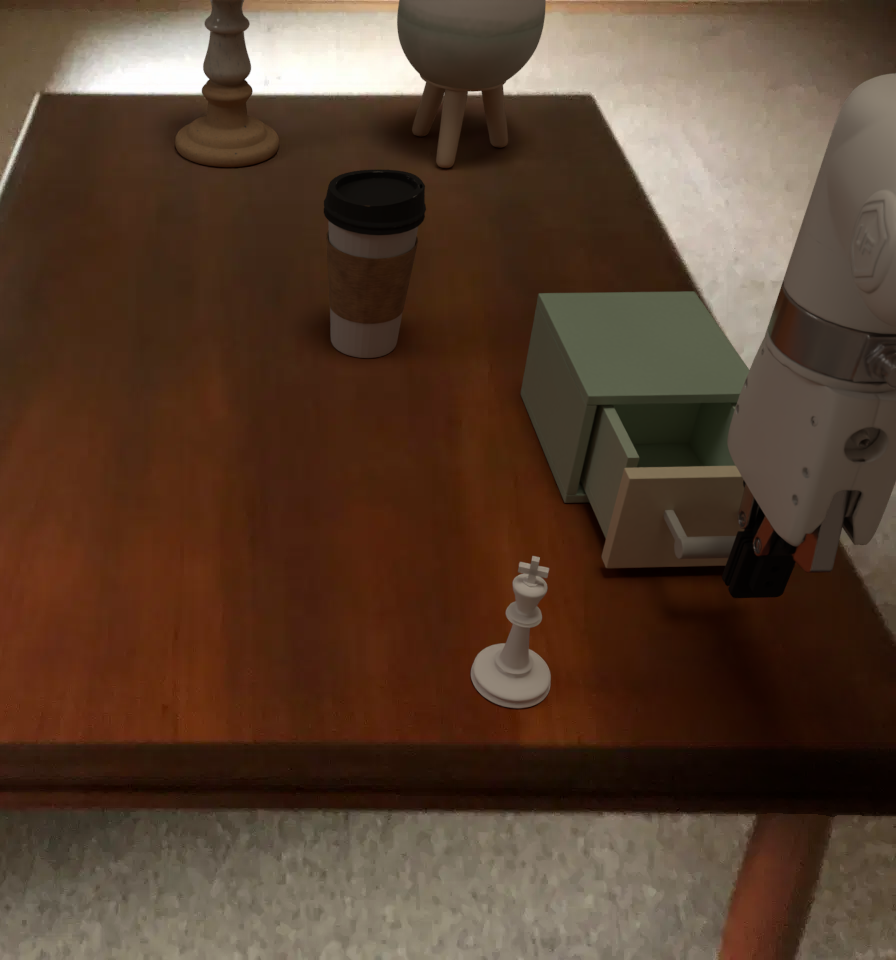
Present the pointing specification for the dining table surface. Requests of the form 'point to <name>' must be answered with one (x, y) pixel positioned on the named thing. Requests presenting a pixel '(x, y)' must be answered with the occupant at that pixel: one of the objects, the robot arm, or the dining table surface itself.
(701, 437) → the drawer
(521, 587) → the chess piece
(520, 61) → the planter
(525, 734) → the dining table surface
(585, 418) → the cabinet
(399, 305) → the coffee cup
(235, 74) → the candle holder
